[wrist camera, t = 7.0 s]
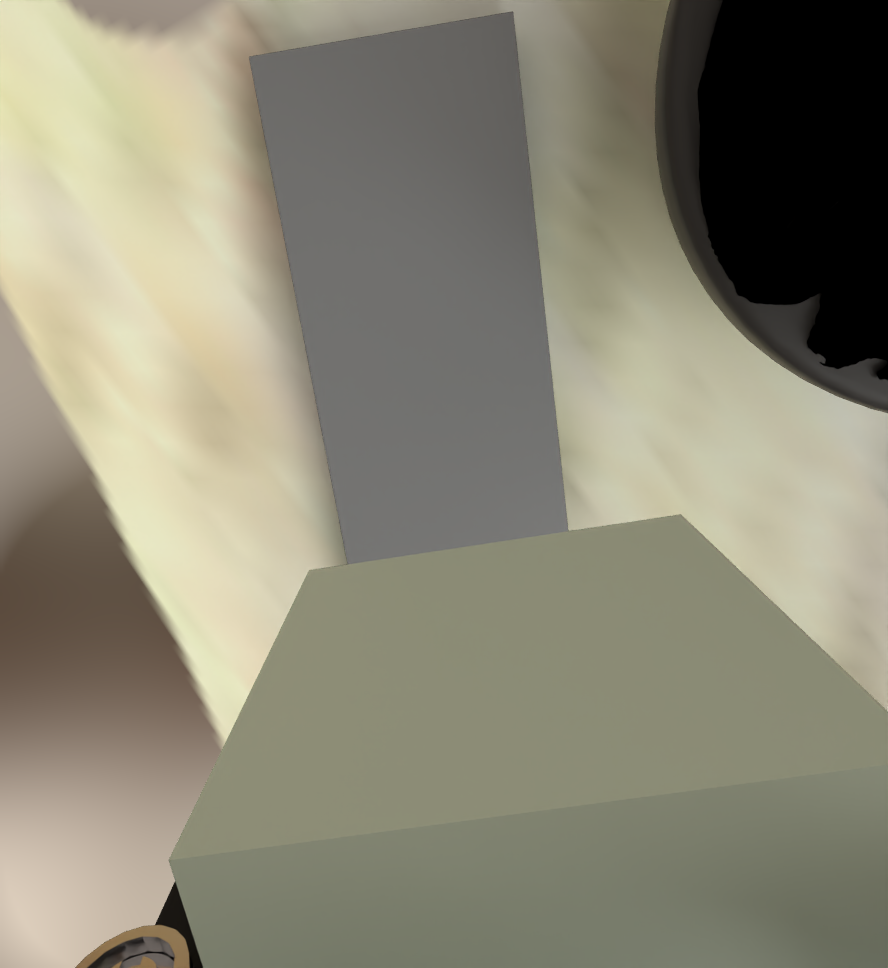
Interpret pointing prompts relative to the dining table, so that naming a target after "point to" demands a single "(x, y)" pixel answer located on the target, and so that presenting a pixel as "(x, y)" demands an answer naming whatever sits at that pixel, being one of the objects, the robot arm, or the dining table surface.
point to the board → (418, 283)
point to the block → (544, 771)
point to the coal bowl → (784, 177)
